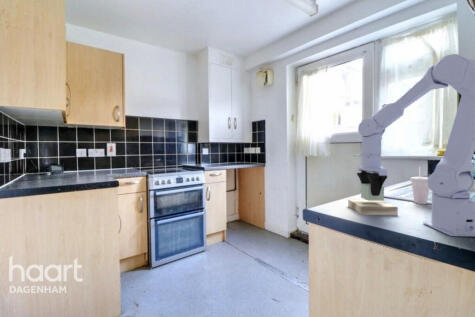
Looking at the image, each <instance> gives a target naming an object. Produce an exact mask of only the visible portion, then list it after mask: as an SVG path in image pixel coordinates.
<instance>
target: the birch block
mask: <svg viewBox="0 0 475 317" xmlns="http://www.w3.org/2000/svg"><path fill="white" fill-rule="evenodd" d="M347 200H348V203H347V205H348V207H349V208H351V209H352V210H354V211H356V212H357V213H358V214H360V215H362V216H365V215H366V216H398V213H399V210H398V209H399V208H398V206H396V205H394V204H391V203H389V202H386V201H385V200H384V201H368V200H366V199H364V198H360V199H357V198H355V199H354V198H353V199H351V198H350V199H347Z"/></svg>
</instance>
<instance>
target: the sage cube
mask: <svg viewBox="0 0 475 317" xmlns="http://www.w3.org/2000/svg"><path fill="white" fill-rule="evenodd" d="M360 189H361V191H360V193H361V194H360V199H366V200H368V201H384V202H385V186H384V184H383V185H382V188H381V192H380V195H379V196H373V195H372V193H371V186H370V184H361V183H360Z"/></svg>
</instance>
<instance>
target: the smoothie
mask: <svg viewBox="0 0 475 317" xmlns="http://www.w3.org/2000/svg"><path fill="white" fill-rule="evenodd" d="M421 172H422V166H418V176H412V177H410V181H411V188H412V197H413V202H414V204H419V205H427V203H428V198H429V194H430V188H429V187H428V183H427V181H428V178H429V177H425V176H421V175H422V173H421Z"/></svg>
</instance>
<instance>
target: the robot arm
mask: <svg viewBox="0 0 475 317" xmlns="http://www.w3.org/2000/svg"><path fill="white" fill-rule="evenodd" d="M449 87H451V88H453V89H454V90H455V91H456V92H457V93H458V94H460V95H461V97H460V100H459V103H458V107H457V110H456V114H455V117H454V121H453V123H452V127H451V131H450V135H449V137H448V139H447V140H448V141H447V144H446V147H445V150H444V154H443V156H442V158H441V159H440V161H439V162H438V163H437V164H436V166H435V170H434V171H433V172H432V173H431V174H430V175H429V176H428V177H427V178H428V181H427V183H428V187H429V191H431V221H423V222H422V223H423V224H424V225H426V226H428V227H430V228H432V229H435V230H437V231H439V232H441V233H444V234H446V235H448V236H450V237H475V201H473V200H472V199H471V194H470V193H469V191H470V190H471V189H472V188H473V187H474V184H475V180H474V177H473V171H474V166H473V163H472V161H473V160H472V159H473V157H474V153H475V60H474V59H469V58H466V57H464V56H463V55H461V54H457V53H452V54H447V55H445V56H443V57H441V58H440V59H439V60H438V61H436V63H435V64H433V65H431V66H429V67H428V68H427V70H426V71H425V73H424V74H423V75H422V76H421V77H420V78H419V79H418V80H417V81H416V82H415V83H414V84H412V85H411V87H409V88H408V89H407V90H406V91H405V92H404V93H403V94H402V95H401V96H399V97H398V99H396V100H395V101H389V102H386V103H383V104H382V106H381V108H380V109H379V110H378V111H376V112H375V113H374V114H371V115H370V117H369V118H365V119H362V120H361V122H360V123H359V124H358V128H357V130H358V131H357V132H358V133H359V135H361V165H358V168H357V169H358V170H357V173H356V175H357V176H358V178H359V181H360V185H361V184H370V186H371V193H372V195H373V196H379V195H380V192H381V188H382V185H383V186H384V183H385V182H386V180H387V179H388V169H386V168H385V167H384V166H382V139H383V138H382V137H383V135H384V133H385V132H386V129H387V128H388V127H389V126H391V125H392V124H393V123H395V122H396V121H397V120H399V119H400V118H401V117H403V115H404V113H405V109H406V108H408V107H409V106H412V104H414V103H415V102H417V101H418V100H420V98H422V97H423V96H425V95H427V94H428V93H429V92H431V91H432V90H434V91H435V90H438V89H445V88H449Z"/></svg>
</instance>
